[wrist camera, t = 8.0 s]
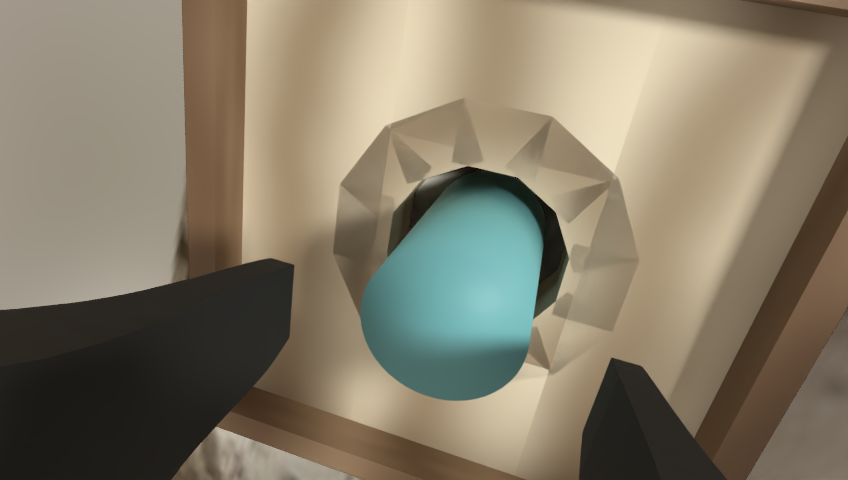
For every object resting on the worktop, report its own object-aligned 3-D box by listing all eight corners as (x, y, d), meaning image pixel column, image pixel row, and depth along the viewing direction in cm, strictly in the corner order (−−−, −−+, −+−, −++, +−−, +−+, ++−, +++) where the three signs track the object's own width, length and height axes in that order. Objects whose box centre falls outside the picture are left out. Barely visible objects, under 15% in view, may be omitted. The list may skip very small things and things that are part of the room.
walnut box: (912, -8, 13) (1042, -24, 9) (660, 494, 20) (678, 593, 17) (266, -105, 16) (178, -145, 12) (251, 359, 23) (193, 417, 20)
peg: (567, 249, 18) (563, 368, 11) (469, 294, 19) (418, 420, 13) (508, 149, 17) (469, 217, 11) (412, 205, 19) (329, 292, 12)
